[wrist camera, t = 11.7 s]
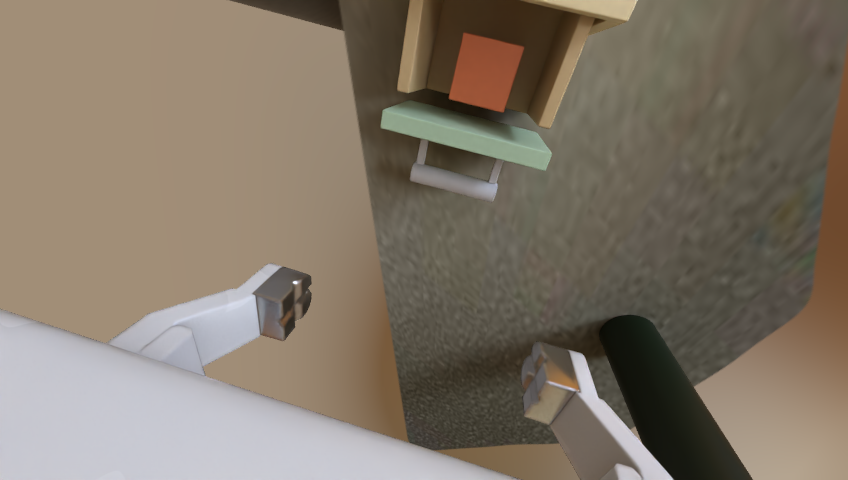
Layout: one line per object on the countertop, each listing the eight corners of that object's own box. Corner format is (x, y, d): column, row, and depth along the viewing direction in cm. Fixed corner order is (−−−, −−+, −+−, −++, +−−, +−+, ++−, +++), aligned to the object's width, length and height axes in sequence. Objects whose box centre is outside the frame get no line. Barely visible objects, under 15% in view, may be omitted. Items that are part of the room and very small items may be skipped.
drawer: (513, 191, 29) (520, 227, 22) (399, 160, 29) (372, 186, 23) (611, -61, 20) (674, -129, 13) (442, -97, 20) (418, -179, 14)
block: (454, 95, 25) (448, 99, 21) (467, 37, 23) (463, 31, 19) (501, 107, 25) (503, 113, 21) (519, 50, 22) (525, 46, 19)
